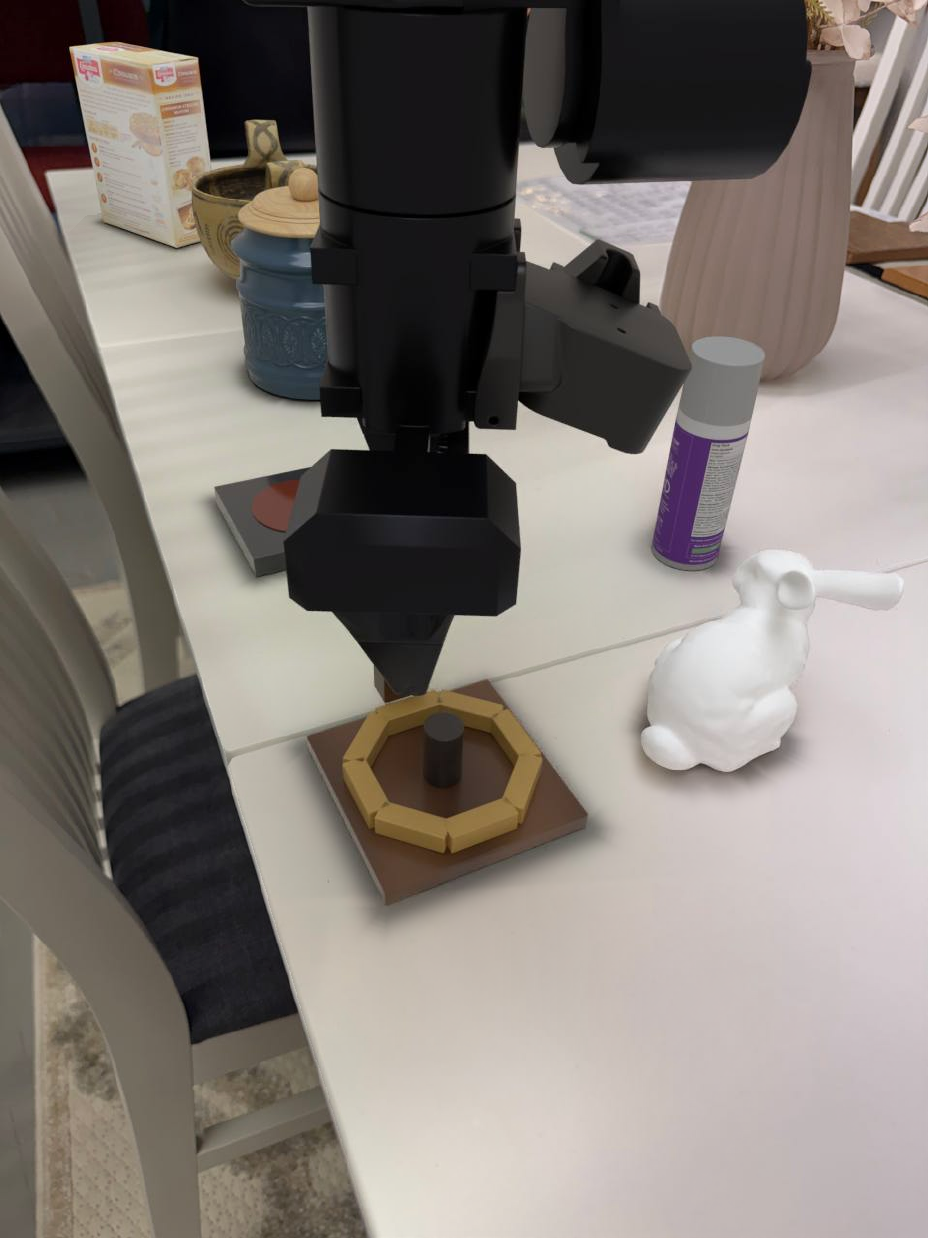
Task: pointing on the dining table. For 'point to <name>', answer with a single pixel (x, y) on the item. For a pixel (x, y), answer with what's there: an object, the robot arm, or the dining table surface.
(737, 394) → the container
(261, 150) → the ceramic bowl
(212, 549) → the dining table surface
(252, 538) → the stove
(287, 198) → the canister
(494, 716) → the ring
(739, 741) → the rabbit
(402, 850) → the brown peg base
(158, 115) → the coffeecake box
